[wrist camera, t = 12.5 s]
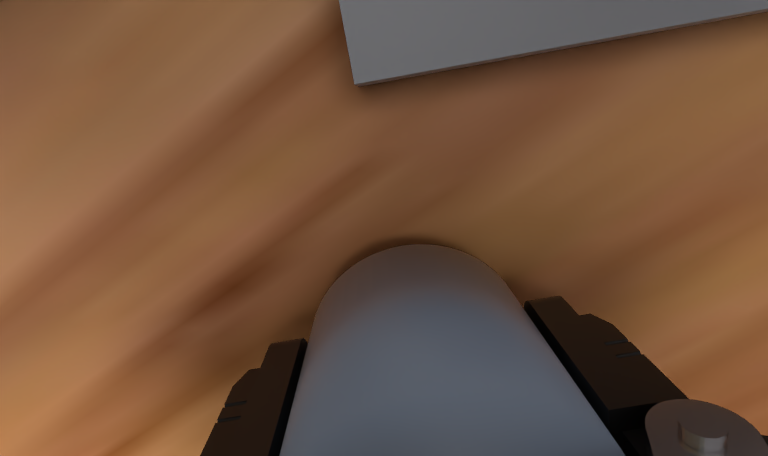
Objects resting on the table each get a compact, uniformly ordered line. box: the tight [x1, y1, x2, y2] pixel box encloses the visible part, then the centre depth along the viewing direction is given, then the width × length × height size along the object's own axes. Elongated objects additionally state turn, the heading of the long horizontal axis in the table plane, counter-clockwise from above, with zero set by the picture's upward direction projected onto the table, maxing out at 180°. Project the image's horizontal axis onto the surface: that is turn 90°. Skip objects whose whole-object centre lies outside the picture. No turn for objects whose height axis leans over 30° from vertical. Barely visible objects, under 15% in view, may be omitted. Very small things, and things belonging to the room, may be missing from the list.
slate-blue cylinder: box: [279, 244, 626, 456], centre depth 8 cm, size 5×5×5 cm
